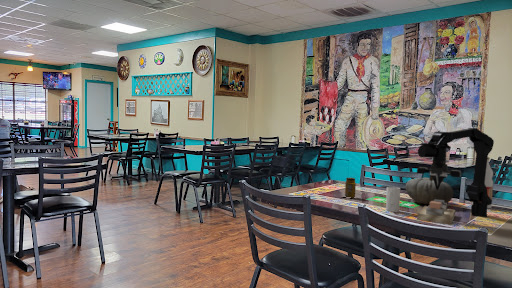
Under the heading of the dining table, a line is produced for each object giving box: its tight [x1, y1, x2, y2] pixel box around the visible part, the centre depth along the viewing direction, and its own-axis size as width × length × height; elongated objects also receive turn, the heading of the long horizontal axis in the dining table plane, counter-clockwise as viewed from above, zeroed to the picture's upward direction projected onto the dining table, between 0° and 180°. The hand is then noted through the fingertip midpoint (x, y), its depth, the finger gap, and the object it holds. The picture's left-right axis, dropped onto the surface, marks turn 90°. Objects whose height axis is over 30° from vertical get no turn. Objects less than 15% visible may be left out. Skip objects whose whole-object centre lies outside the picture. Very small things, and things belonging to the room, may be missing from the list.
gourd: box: [405, 176, 454, 206], centre depth 212 cm, size 25×25×17 cm
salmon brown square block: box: [429, 201, 441, 209], centre depth 173 cm, size 4×4×3 cm
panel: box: [416, 203, 456, 225], centre depth 178 cm, size 14×20×6 cm
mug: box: [385, 186, 401, 213], centre depth 189 cm, size 10×7×12 cm, turn 145°
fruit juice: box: [471, 156, 494, 209], centre depth 205 cm, size 9×9×28 cm
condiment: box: [344, 177, 357, 198], centre depth 223 cm, size 7×8×12 cm
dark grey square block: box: [434, 199, 445, 205], centre depth 183 cm, size 4×4×3 cm
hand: (437, 189), depth 178 cm, fingers closed
